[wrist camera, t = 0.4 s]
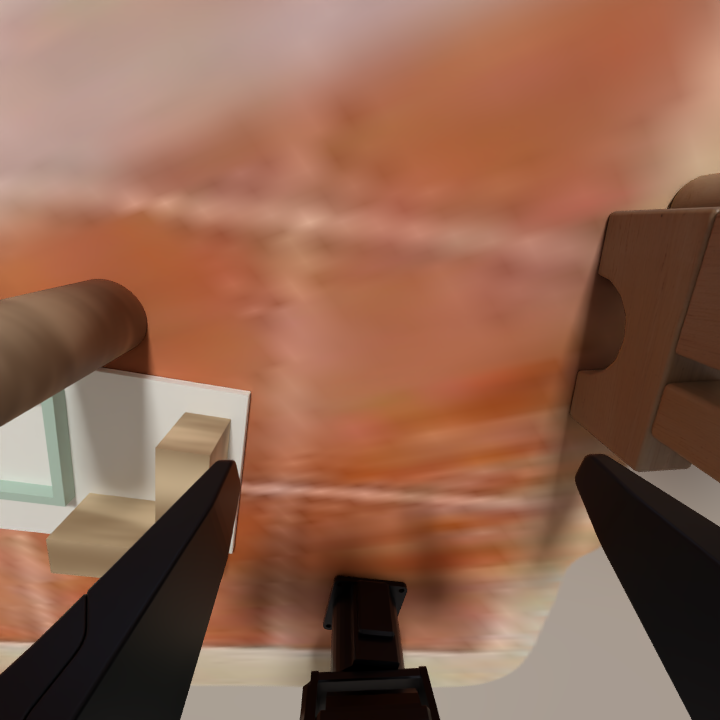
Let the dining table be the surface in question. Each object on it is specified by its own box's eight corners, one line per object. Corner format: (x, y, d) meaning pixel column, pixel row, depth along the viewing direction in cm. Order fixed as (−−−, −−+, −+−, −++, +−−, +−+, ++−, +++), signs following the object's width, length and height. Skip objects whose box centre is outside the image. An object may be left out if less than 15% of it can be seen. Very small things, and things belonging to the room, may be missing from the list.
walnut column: (147, 357, 23) (-62, 501, 11) (71, 345, 22) (-234, 480, 10) (146, 287, 21) (-99, 367, 9) (64, 271, 20) (-306, 336, 9)
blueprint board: (234, 547, 29) (228, 564, 27) (-65, 513, 26) (-89, 531, 25) (250, 391, 24) (244, 402, 22) (-117, 331, 21) (-152, 340, 20)
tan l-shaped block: (220, 538, 28) (201, 587, 24) (92, 523, 26) (51, 572, 23) (230, 419, 24) (209, 455, 20) (81, 396, 23) (30, 430, 19)
